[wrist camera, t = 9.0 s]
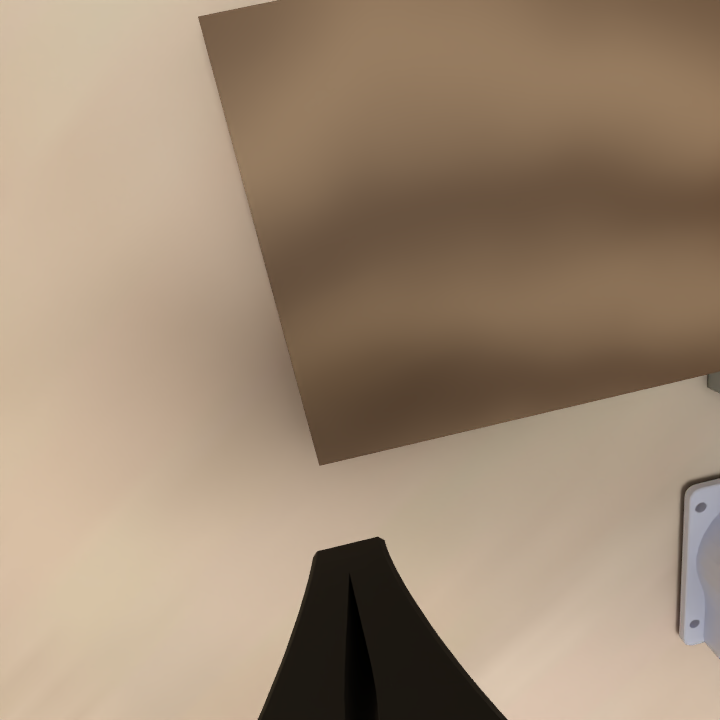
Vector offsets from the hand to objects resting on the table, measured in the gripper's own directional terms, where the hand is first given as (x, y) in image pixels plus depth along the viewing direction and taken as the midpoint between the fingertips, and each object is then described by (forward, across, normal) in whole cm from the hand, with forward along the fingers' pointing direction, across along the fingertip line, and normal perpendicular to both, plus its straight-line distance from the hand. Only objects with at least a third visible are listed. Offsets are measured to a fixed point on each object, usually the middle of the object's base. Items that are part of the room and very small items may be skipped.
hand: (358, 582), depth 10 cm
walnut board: (+9, -7, -5) cm, 13 cm away
